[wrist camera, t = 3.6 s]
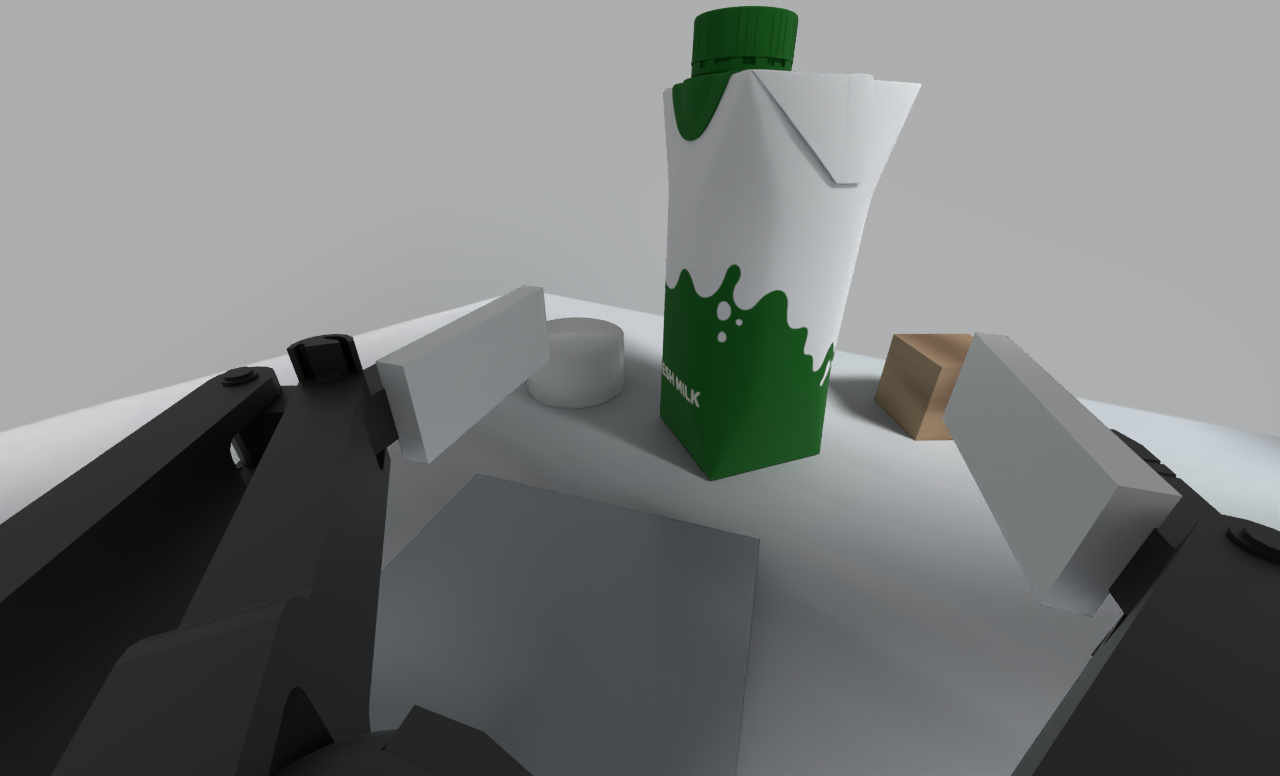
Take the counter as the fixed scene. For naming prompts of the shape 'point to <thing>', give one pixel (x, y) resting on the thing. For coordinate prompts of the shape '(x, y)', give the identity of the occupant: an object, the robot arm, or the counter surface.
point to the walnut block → (922, 381)
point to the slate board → (570, 633)
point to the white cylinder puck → (580, 364)
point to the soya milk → (763, 235)
